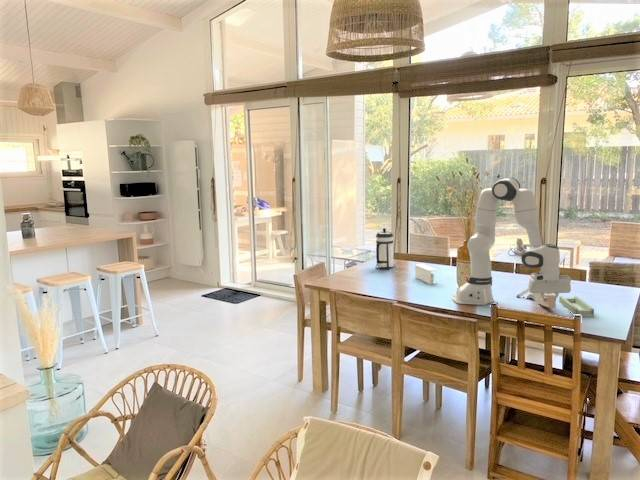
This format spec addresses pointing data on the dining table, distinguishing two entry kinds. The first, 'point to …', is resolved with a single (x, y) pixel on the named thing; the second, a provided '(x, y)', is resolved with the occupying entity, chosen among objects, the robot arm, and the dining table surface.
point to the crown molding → (532, 295)
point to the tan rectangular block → (547, 300)
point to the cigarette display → (424, 273)
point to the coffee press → (384, 249)
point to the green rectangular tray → (577, 306)
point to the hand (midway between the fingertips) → (549, 300)
